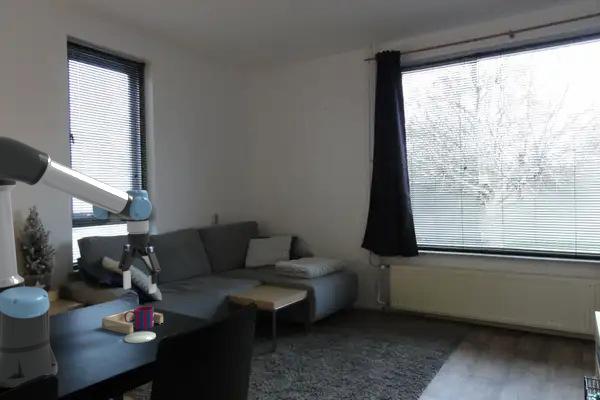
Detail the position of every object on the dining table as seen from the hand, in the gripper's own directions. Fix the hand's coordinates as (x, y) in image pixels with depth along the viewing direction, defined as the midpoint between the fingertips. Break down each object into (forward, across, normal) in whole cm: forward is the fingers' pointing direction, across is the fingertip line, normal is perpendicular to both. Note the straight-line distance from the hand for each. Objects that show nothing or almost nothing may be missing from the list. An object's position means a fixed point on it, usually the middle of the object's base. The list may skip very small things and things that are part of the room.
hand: (139, 290), depth 164 cm
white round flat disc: (+13, -10, +8) cm, 19 cm away
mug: (+14, 0, 0) cm, 14 cm away
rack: (+13, +4, 0) cm, 14 cm away
